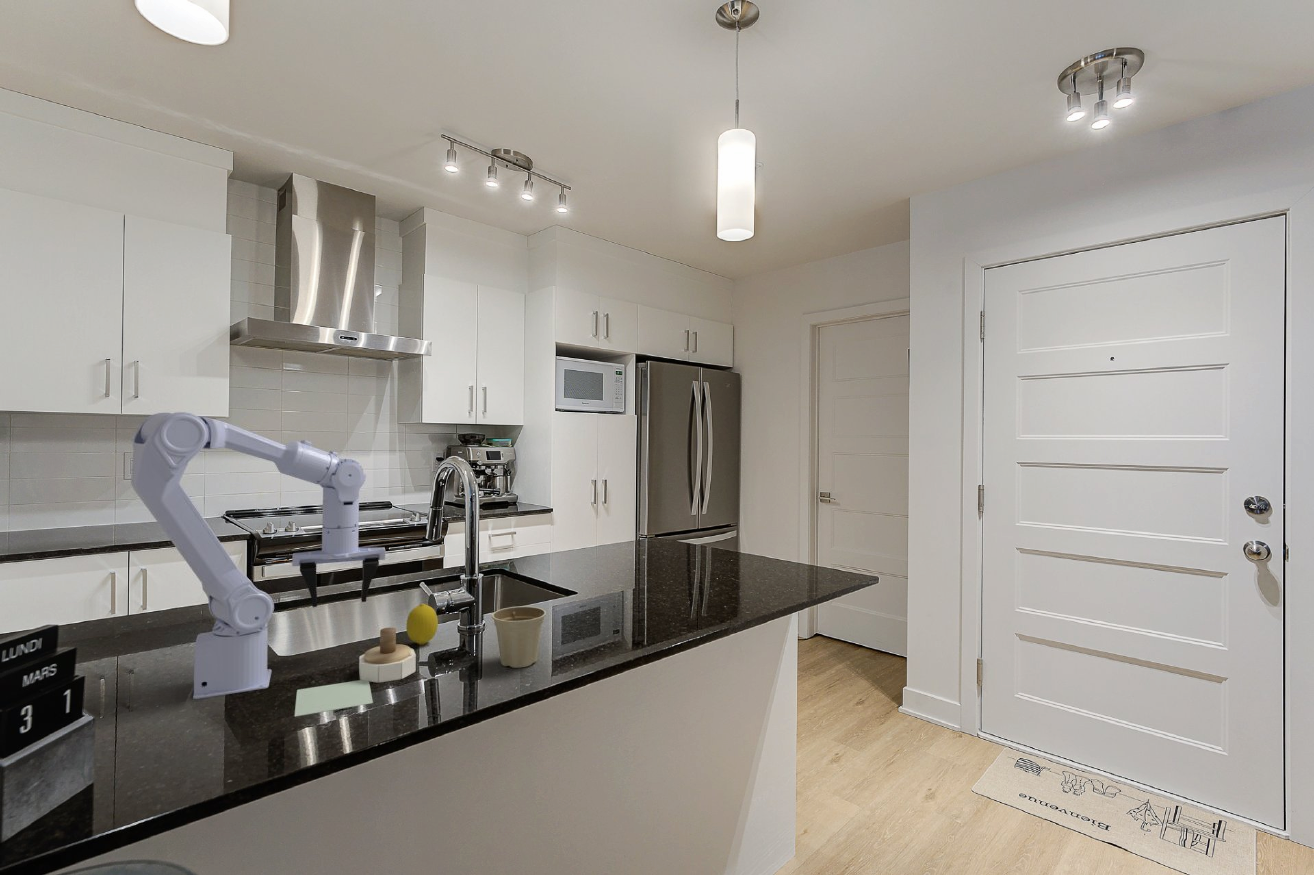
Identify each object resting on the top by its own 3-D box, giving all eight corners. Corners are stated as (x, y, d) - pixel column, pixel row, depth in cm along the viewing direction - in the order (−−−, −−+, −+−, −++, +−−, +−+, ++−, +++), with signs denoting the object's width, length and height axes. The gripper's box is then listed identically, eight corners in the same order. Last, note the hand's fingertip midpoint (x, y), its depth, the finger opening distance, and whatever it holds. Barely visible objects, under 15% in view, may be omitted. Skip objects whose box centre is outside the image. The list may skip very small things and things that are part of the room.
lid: (364, 666, 99) (364, 638, 99) (364, 652, 106) (364, 626, 106) (411, 660, 102) (412, 633, 102) (408, 646, 109) (409, 621, 108)
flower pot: (480, 662, 110) (481, 613, 110) (525, 649, 117) (525, 603, 117) (510, 676, 104) (511, 624, 104) (556, 662, 111) (557, 613, 111)
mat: (294, 719, 87) (294, 716, 87) (297, 692, 96) (297, 690, 96) (372, 705, 92) (372, 702, 92) (368, 681, 101) (368, 678, 101)
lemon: (427, 652, 115) (427, 608, 115) (399, 649, 116) (400, 606, 116) (443, 642, 120) (443, 600, 120) (417, 639, 121) (417, 598, 121)
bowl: (361, 687, 98) (361, 668, 98) (358, 669, 106) (358, 651, 106) (417, 678, 102) (417, 660, 102) (411, 661, 110) (411, 644, 110)
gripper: (292, 532, 103) (291, 614, 103) (387, 527, 110) (386, 604, 110) (293, 526, 110) (292, 603, 110) (383, 521, 116) (382, 594, 116)
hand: (339, 603), depth 110 cm, fingers open, 7 cm apart
